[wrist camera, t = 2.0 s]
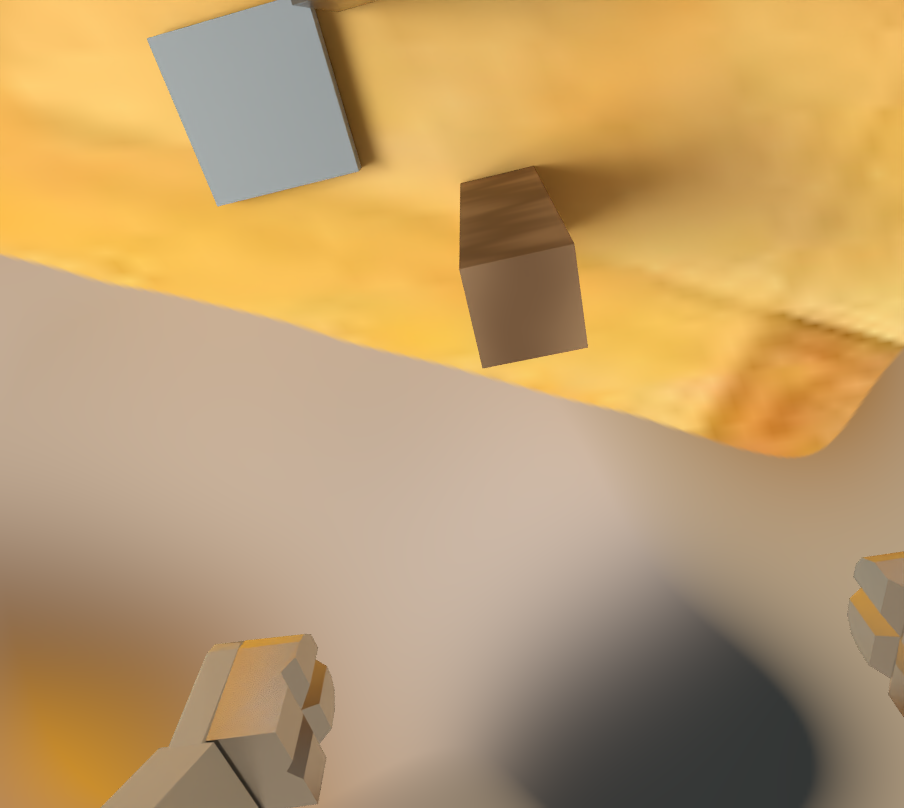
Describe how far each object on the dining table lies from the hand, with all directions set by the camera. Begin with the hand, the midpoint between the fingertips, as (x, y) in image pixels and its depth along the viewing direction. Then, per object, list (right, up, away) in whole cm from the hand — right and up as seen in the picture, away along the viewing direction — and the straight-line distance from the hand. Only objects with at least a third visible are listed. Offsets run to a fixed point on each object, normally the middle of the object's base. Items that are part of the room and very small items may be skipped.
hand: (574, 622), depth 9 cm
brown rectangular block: (+1, +14, +25) cm, 28 cm away
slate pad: (-12, +19, +22) cm, 31 cm away
